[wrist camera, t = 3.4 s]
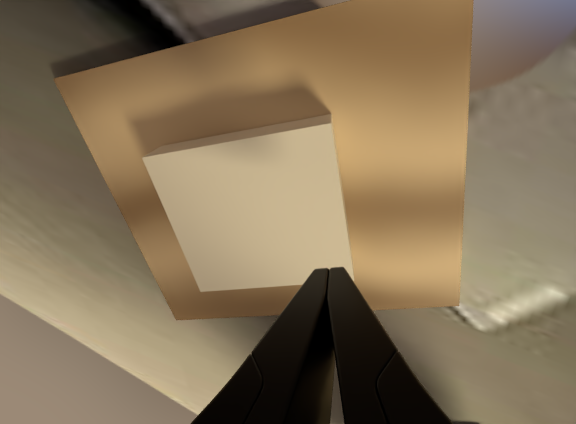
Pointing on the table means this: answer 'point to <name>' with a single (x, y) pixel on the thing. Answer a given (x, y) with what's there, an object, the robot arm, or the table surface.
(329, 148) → the tile
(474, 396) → the table surface
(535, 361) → the table surface
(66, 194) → the table surface
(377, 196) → the mat
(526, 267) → the table surface
